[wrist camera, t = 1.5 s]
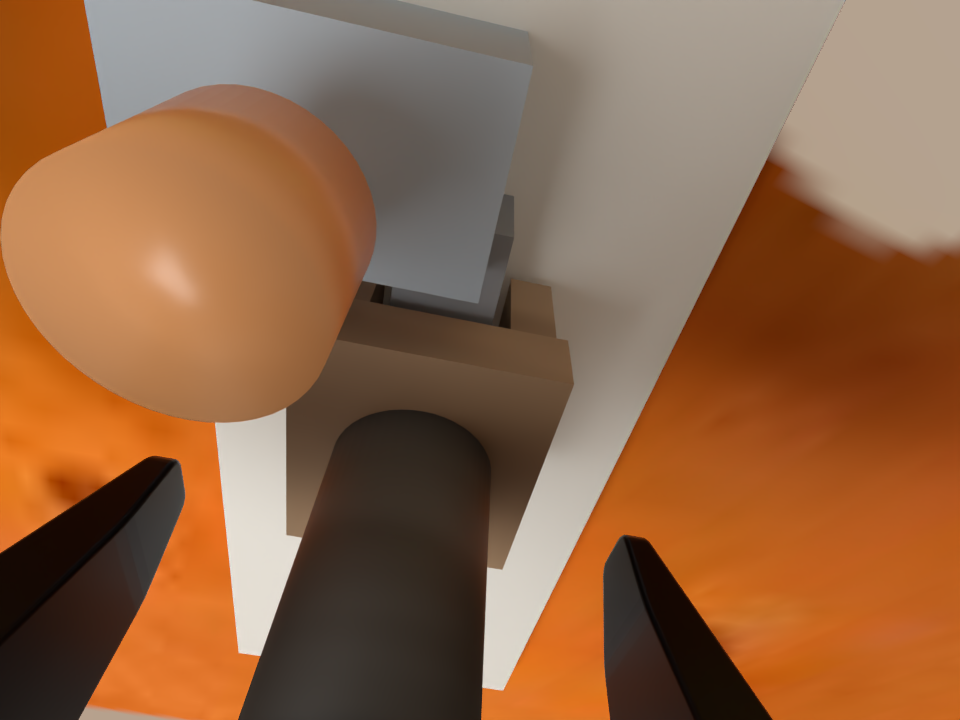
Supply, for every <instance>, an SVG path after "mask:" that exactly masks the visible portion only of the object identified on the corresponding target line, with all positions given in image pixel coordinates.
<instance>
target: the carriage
mask: <svg viewBox="0 0 960 720" xmlns="http://www.w3.org/2000/svg"><path fill="white" fill-rule="evenodd" d="M384 289H385V285H381V284H376V283H371V282H366V281H362V282H361V284H360V287H359V289H358V291H357V293H356V296H355V298H354V300H353V302H352V305H351V307H350V309H349V312H348V314H347V316H346V318H345V321H344V323H343V325H342V327H341V330H340V332H339V334H338V336H337V339H336V341H335V343H334V346H333V348H332V350H331V352H330V355H329V357H328V359H327V361H326V364H325V366H324V368H323V370H322V372H321V373H320V375H319V377H318V379H317V380H316V382H315V383H314V384H313V385H312V387H311V388H310V389H309V390H308V391H307V392H306V393H305V394H304V395H303V396H302V397H301V398H300V399H298V400H297V401H296V402H294V403H293V404H291V405H289V406H288V407H286V535H288V536H295V537H301V538H302V540H301V542H300V545H299V548H298V551H297V554H296V557H295V559H294V562H293V565H292V568H291V571H290V574H289V576H288V579H287V582H286V585H285V588H284V591H283V594H282V596H281V599H280V602H279V605H278V608H277V611H276V613H275V616H274V619H273V622H272V625H271V628H270V630H269V633H268V636H267V639H266V642H265V645H264V648H263V650H262V653H261V656H260V659H259V662H258V665H257V667H256V670H255V673H254V676H253V679H252V682H251V685H250V687H249V690H248V693H247V696H246V699H245V702H244V704H243V707H242V710H241V713H240V716H239V719H238V720H481V709H482V685H483V660H484V635H485V611H486V586H487V567H488V568H494V569H500V570H502V569H503V567H504V564H505V562H506V559H507V557H508V554H509V551H510V549H511V546H512V544H513V541H514V538H515V536H516V533H517V531H518V528H519V526H520V523H521V520H522V518H523V515H524V513H525V510H526V507H527V505H528V502H529V500H530V497H531V495H532V492H533V489H534V487H535V484H536V482H537V479H538V477H539V474H540V471H541V469H542V466H543V464H544V461H545V458H546V456H547V453H548V451H549V448H550V446H551V443H552V440H553V438H554V435H555V433H556V430H557V427H558V425H559V422H560V420H561V417H562V415H563V412H564V409H565V407H566V404H567V402H568V399H569V396H570V394H571V391H572V389H573V386H574V380H573V373H572V365H571V358H570V351H569V344H568V340H563V339H558V338H557V336H556V327H555V318H554V309H553V300H552V291H551V287H550V286H546V285H541V284H536V283H531V282H526V281H521V280H516V279H511V281H510V285H509V288H508V292H507V296H506V300H505V304H504V307H503V311H502V315H501V319H500V323H499V326H498V327H497V326H491V325H486V324H481V323H476V322H471V321H466V320H461V319H456V318H450V317H445V316H440V315H435V314H430V313H425V312H420V311H415V310H410V309H404V308H399V307H394V306H389V305H384V304H383V298H384Z"/></svg>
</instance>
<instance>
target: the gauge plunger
mask: <svg viewBox="0 0 960 720" xmlns="http://www.w3.org/2000/svg"><path fill="white" fill-rule="evenodd" d="M376 225H377V223H376V214H375V207H374V203H373V199H372V195H371V191H370V189H369V186H368V184H367V181H366V178H365V176H364V174H363V172H362V171H361V169H360V167H359V165H358V163H357V161H356V160H355V158H354V157H353V155H352V154H351V153H350V151H349V150H348V148H347V147H346V146H345V145H344V143H343V142H342V141H341V140H340V139H339V138H338V136H337V135H336V134H335V133H334V132H333V131H332V130H331V129H330V128H329V127H327V126H326V125H325V124H324V123H323V122H322V121H321V120H320V119H318V118H317V117H316V116H314V115H313V114H312V113H310V112H309V111H307V110H306V109H304V108H303V107H301V106H299V105H298V104H296V103H294V102H292V101H291V100H289V99H286V98H284V97H282V96H279V95H277V94H275V93H272V92H269V91H266V90H262V89H259V88H256V87H251V86H244V85H238V84H216V85H208V86H202V87H198V88H195V89H192V90H189V91H186V92H184V93H182V94H179V95H177V96H175V97H173V98H171V99H169V100H167V101H164V102H162V103H160V104H158V105H156V106H154V107H152V108H149V109H147V110H145V111H143V112H141V113H139V114H137V115H134V116H132V117H130V118H128V119H126V120H124V121H122V122H119V123H117V124H115V125H113V126H111V127H109V128H107V129H104V130H102V131H100V132H98V133H96V134H94V135H92V136H89V137H87V138H85V139H83V140H81V141H79V142H77V143H74V144H72V145H70V146H68V147H66V148H64V149H61V150H59V151H57V152H55V153H53V154H51V155H49V156H48V157H46V158H44V159H42V160H40V161H39V162H38V163H36V164H35V165H34V166H33V167H31V168H30V169H29V170H28V171H26V172H25V173H24V175H23V176H22V177H21V178H20V180H19V181H18V182H17V183H16V184H15V186H14V188H13V190H12V192H11V194H10V195H9V197H8V199H7V201H6V205H5V209H4V212H3V216H2V223H1V247H2V256H3V260H4V264H5V268H6V272H7V275H8V277H9V280H10V282H11V285H12V287H13V290H14V292H15V294H16V296H17V298H18V300H19V301H20V303H21V305H22V307H23V309H24V310H25V312H26V313H27V315H28V316H29V318H30V319H31V321H32V322H33V323H34V325H35V326H36V328H37V329H38V330H39V331H40V332H41V334H42V335H43V336H44V337H45V338H46V339H47V341H48V342H49V343H50V344H51V345H52V346H53V347H54V348H55V349H56V350H57V351H58V352H59V353H60V354H61V355H62V356H63V357H64V358H65V359H67V360H68V361H69V362H70V363H71V364H73V365H74V366H75V367H76V368H77V369H79V370H80V371H81V372H82V373H84V374H85V375H87V376H88V377H89V378H91V379H92V380H94V381H95V382H97V383H98V384H100V385H101V386H103V387H105V388H106V389H108V390H110V391H111V392H113V393H115V394H117V395H119V396H121V397H123V398H125V399H127V400H129V401H131V402H133V403H135V404H138V405H140V406H143V407H145V408H148V409H150V410H153V411H156V412H160V413H163V414H166V415H169V416H173V417H178V418H183V419H187V420H194V421H201V422H215V423H229V422H242V421H248V420H253V419H258V418H261V417H265V416H268V415H271V414H274V413H276V412H278V411H280V410H282V409H284V408H286V407H288V406H289V405H291V404H293V403H294V402H296V401H297V400H298V399H300V398H301V397H302V396H303V395H304V394H305V393H306V392H307V391H308V390H309V389H310V388H311V387H312V385H313V384H314V383H315V382H316V380H317V379H318V377H319V375H320V373H321V372H322V370H323V368H324V366H325V364H326V361H327V359H328V357H329V355H330V352H331V350H332V348H333V346H334V343H335V341H336V339H337V336H338V334H339V332H340V330H341V327H342V325H343V323H344V321H345V318H346V316H347V314H348V312H349V309H350V307H351V305H352V302H353V300H354V298H355V296H356V293H357V291H358V289H359V287H360V284H361V282H362V280H363V278H364V275H365V273H366V271H367V268H368V266H369V264H370V261H371V258H372V255H373V252H374V247H375V241H376Z"/></svg>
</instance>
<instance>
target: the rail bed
mask: <svg viewBox="0 0 960 720" xmlns="http://www.w3.org/2000/svg"><path fill="white" fill-rule="evenodd" d="M845 1H846V0H84V3H85V9H86V14H87V20H88V25H89V31H90V36H91V42H92V47H93V53H94V58H95V64H96V70H97V75H98V81H99V86H100V92H101V97H102V103H103V108H104V114H105V119H106V125H107V128H109V127H111V126H113V125H115V124H117V123H119V122H122V121H124V120H126V119H128V118H130V117H132V116H134V115H137V114H139V113H141V112H143V111H145V110H147V109H149V108H152V107H154V106H156V105H158V104H160V103H162V102H164V101H167V100H169V99H171V98H173V97H175V96H177V95H179V94H182V93H184V92H186V91H189V90H192V89H195V88H198V87H202V86H208V85H216V84H238V85H244V86H251V87H256V88H259V89H262V90H266V91H269V92H272V93H275V94H277V95H279V96H282V97H284V98H286V99H289V100H291V101H292V102H294V103H296V104H298V105H299V106H301V107H303V108H304V109H306V110H307V111H309V112H310V113H312V114H313V115H314V116H316V117H317V118H318V119H320V120H321V121H322V122H323V123H324V124H325V125H326V126H327V127H329V128H330V129H331V130H332V131H333V132H334V133H335V134H336V135H337V136H338V138H339V139H340V140H341V141H342V142H343V143H344V145H345V146H346V147H347V148H348V150H349V151H350V153H351V154H352V155H353V157H354V158H355V160H356V161H357V163H358V165H359V167H360V169H361V171H362V172H363V174H364V176H365V178H366V181H367V184H368V186H369V189H370V191H371V195H372V199H373V203H374V207H375V214H376V223H377V225H376V241H375V247H374V252H373V255H372V258H371V261H370V264H369V266H368V268H367V271H366V273H365V275H364V278H363V280H362V281H366V282H371V283H376V284H381V285H385V289H384V298H383V304H384V305H389V306H394V307H399V308H404V309H410V310H415V311H420V312H425V313H430V314H435V315H440V316H445V317H450V318H456V319H461V320H466V321H471V322H476V323H481V324H486V325H491V326H497V327H498V326H499V323H500V319H501V315H502V311H503V307H504V304H505V300H506V296H507V292H508V288H509V285H510V281H511V279H516V280H521V281H526V282H531V283H536V284H541V285H546V286H550V287H551V291H552V300H553V309H554V318H555V327H556V336H557V338H558V339H563V340H568V344H569V351H570V358H571V365H572V373H573V380H574V386H573V389H572V391H571V394H570V396H569V399H568V402H567V404H566V407H565V409H564V412H563V415H562V417H561V420H560V422H559V425H558V427H557V430H556V433H555V435H554V438H553V440H552V443H551V446H550V448H549V451H548V453H547V456H546V458H545V461H544V464H543V466H542V469H541V471H540V474H539V477H538V479H537V482H536V484H535V487H534V489H533V492H532V495H531V497H530V500H529V502H528V505H527V507H526V510H525V513H524V515H523V518H522V520H521V523H520V526H519V528H518V531H517V533H516V536H515V538H514V541H513V544H512V546H511V549H510V551H509V554H508V557H507V559H506V562H505V564H504V567H503V569H502V570H500V569H494V568H488V567H487V586H486V611H485V635H484V660H483V685H482V688H489V689H496V690H504V688H505V685H506V683H507V681H508V679H509V677H510V675H511V673H512V671H513V669H514V667H515V665H516V663H517V661H518V659H519V657H520V655H521V653H522V651H523V649H524V647H525V645H526V643H527V641H528V639H529V637H530V635H531V633H532V631H533V629H534V627H535V625H536V623H537V621H538V619H539V617H540V615H541V613H542V611H543V609H544V607H545V605H546V603H547V601H548V599H549V597H550V595H551V593H552V591H553V589H554V587H555V585H556V583H557V581H558V579H559V577H560V575H561V573H562V571H563V569H564V567H565V565H566V563H567V561H568V559H569V557H570V555H571V553H572V551H573V549H574V547H575V545H576V543H577V540H578V538H579V536H580V534H581V532H582V530H583V528H584V526H585V524H586V522H587V520H588V518H589V516H590V514H591V512H592V510H593V508H594V506H595V504H596V502H597V500H598V498H599V496H600V494H601V492H602V490H603V488H604V486H605V484H606V482H607V480H608V478H609V476H610V474H611V472H612V470H613V468H614V466H615V464H616V462H617V460H618V458H619V456H620V454H621V452H622V450H623V448H624V446H625V444H626V442H627V440H628V438H629V436H630V434H631V432H632V430H633V428H634V426H635V424H636V422H637V420H638V418H639V416H640V414H641V412H642V410H643V408H644V406H645V404H646V402H647V400H648V398H649V395H650V393H651V391H652V389H653V387H654V385H655V383H656V381H657V379H658V377H659V375H660V373H661V371H662V369H663V367H664V365H665V363H666V361H667V359H668V357H669V355H670V353H671V351H672V349H673V347H674V345H675V343H676V341H677V339H678V337H679V335H680V333H681V331H682V329H683V327H684V325H685V323H686V321H687V319H688V317H689V315H690V313H691V311H692V309H693V307H694V305H695V303H696V301H697V299H698V297H699V295H700V293H701V291H702V289H703V287H704V285H705V283H706V281H707V279H708V277H709V275H710V273H711V271H712V269H713V267H714V265H715V263H716V261H717V259H718V257H719V255H720V253H721V250H722V248H723V246H724V244H725V242H726V240H727V238H728V236H729V234H730V232H731V230H732V228H733V226H734V224H735V222H736V220H737V218H738V216H739V214H740V212H741V210H742V208H743V206H744V204H745V202H746V200H747V198H748V196H749V194H750V192H751V190H752V188H753V186H754V184H755V182H756V180H757V178H758V176H759V174H760V172H761V170H762V168H763V166H764V164H765V162H766V160H767V158H768V156H769V154H770V152H771V150H772V148H773V146H774V144H775V142H776V140H777V138H778V136H779V134H780V132H781V130H782V128H783V126H784V124H785V122H786V120H787V118H788V115H789V113H790V112H791V110H792V108H793V106H794V103H795V101H796V99H797V97H798V95H799V93H800V91H801V89H802V87H803V85H804V83H805V81H806V79H807V77H808V75H809V73H810V71H811V69H812V67H813V65H814V63H815V61H816V59H817V57H818V55H819V53H820V51H821V49H822V47H823V45H824V43H825V41H826V39H827V37H828V35H829V33H830V31H831V29H832V27H833V25H834V23H835V21H836V19H837V17H838V15H839V13H840V11H841V9H842V7H843V5H844V3H845ZM215 427H216V436H217V446H218V456H219V465H220V475H221V485H222V495H223V504H224V514H225V524H226V533H227V543H228V553H229V562H230V572H231V582H232V592H233V601H234V611H235V621H236V630H237V640H238V650H239V653H244V654H251V655H258V656H261V653H262V650H263V648H264V645H265V642H266V639H267V636H268V633H269V630H270V628H271V625H272V622H273V619H274V616H275V613H276V611H277V608H278V605H279V602H280V599H281V596H282V594H283V591H284V588H285V585H286V582H287V579H288V576H289V574H290V571H291V568H292V565H293V562H294V559H295V557H296V554H297V551H298V548H299V545H300V542H301V540H302V538H301V537H295V536H288V535H286V408H284V409H282V410H280V411H278V412H276V413H274V414H271V415H268V416H265V417H261V418H258V419H253V420H248V421H242V422H229V423H215Z"/></svg>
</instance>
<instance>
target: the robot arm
mask: <svg viewBox="0 0 960 720" xmlns="http://www.w3.org/2000/svg"><path fill="white" fill-rule="evenodd" d="M184 500H185V488H184V482H183V476H182V470H181V465H180V463H179V461H178V460H176V459H172V458H166V457H160V456H151V457H148V458H146V459H144V460H143V461H141V462H140V463H138V464H136V465H135V466H133V467H132V468H130V469H129V470H127V471H126V472H124V473H123V474H121V475H120V476H118V477H116V478H115V479H113V480H112V481H110V482H109V483H107V484H106V485H104V486H103V487H101V488H100V489H98V490H97V491H95V492H93V493H92V494H90V495H89V496H87V497H86V498H84V499H83V500H81V501H80V502H78V503H77V504H75V505H73V506H72V507H70V508H69V509H67V510H66V511H64V512H63V513H61V514H60V515H58V516H57V517H55V518H54V519H52V520H50V521H49V522H47V523H46V524H44V525H43V526H41V527H40V528H38V529H37V530H35V531H34V532H32V533H30V534H29V535H27V536H26V537H24V538H23V539H21V540H20V541H18V542H17V543H15V544H14V545H12V546H11V547H9V548H7V549H6V550H4V551H3V552H1V553H0V720H79V718H80V716H81V714H82V712H83V711H84V709H85V707H86V705H87V703H88V701H89V700H90V698H91V696H92V694H93V692H94V690H95V689H96V687H97V685H98V683H99V681H100V680H101V678H102V676H103V674H104V672H105V670H106V669H107V667H108V665H109V663H110V661H111V660H112V658H113V656H114V654H115V652H116V650H117V649H118V647H119V645H120V643H121V641H122V639H123V638H124V636H125V634H126V632H127V630H128V629H129V627H130V625H131V623H132V621H133V619H134V618H135V616H136V614H137V612H138V610H139V608H140V606H141V604H142V602H143V600H144V598H145V596H146V594H147V592H148V589H149V587H150V585H151V583H152V580H153V578H154V575H155V573H156V571H157V568H158V566H159V563H160V561H161V558H162V556H163V554H164V551H165V549H166V546H167V544H168V542H169V539H170V537H171V534H172V532H173V530H174V527H175V525H176V522H177V520H178V517H179V515H180V513H181V510H182V508H183V505H184ZM603 601H604V667H605V678H606V687H607V696H608V704H609V713H610V720H773V719H772V718H771V717H770V715H769V714H768V712H767V711H766V709H765V708H764V706H763V705H762V704H761V702H760V701H759V699H758V698H757V696H756V695H755V693H754V692H753V691H752V689H751V688H750V686H749V685H748V683H747V682H746V680H745V679H744V678H743V676H742V675H741V673H740V672H739V670H738V669H737V668H736V666H735V665H734V663H733V662H732V660H731V659H730V657H729V656H728V655H727V653H726V652H725V650H724V649H723V647H722V646H721V644H720V643H719V642H718V640H717V639H716V637H715V636H714V634H713V633H712V632H711V630H710V629H709V627H708V626H707V624H706V623H705V621H704V620H703V619H702V617H701V616H700V614H699V613H698V611H697V610H696V608H695V607H694V606H693V604H692V603H691V601H690V600H689V598H688V597H687V595H686V594H685V593H684V591H683V590H682V588H681V587H680V585H679V584H678V583H677V581H676V580H675V578H674V577H673V575H672V574H671V572H670V571H669V570H668V568H667V567H666V565H665V564H664V562H663V561H662V559H661V558H660V557H659V555H658V554H657V552H656V551H655V549H654V548H653V546H652V545H651V544H650V542H649V541H648V540H646V539H645V538H642V537H636V536H630V535H623V536H621V537H620V538H619V540H618V541H617V543H616V545H615V547H614V548H613V550H612V552H611V554H610V556H609V557H608V559H607V561H606V563H605V566H604V573H603Z"/></svg>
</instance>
